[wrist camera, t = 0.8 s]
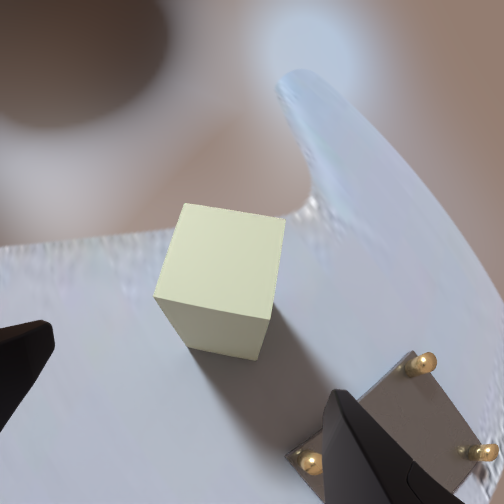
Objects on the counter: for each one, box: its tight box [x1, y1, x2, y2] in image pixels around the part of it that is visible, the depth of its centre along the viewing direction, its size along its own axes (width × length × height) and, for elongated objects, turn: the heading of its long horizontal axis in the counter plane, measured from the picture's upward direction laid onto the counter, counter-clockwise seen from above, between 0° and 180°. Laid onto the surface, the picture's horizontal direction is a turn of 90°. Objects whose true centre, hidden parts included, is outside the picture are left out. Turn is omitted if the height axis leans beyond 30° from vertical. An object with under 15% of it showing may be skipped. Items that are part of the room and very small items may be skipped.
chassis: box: [285, 351, 499, 503], centre depth 16 cm, size 12×12×3 cm
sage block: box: [153, 203, 286, 361], centre depth 19 cm, size 5×5×10 cm
